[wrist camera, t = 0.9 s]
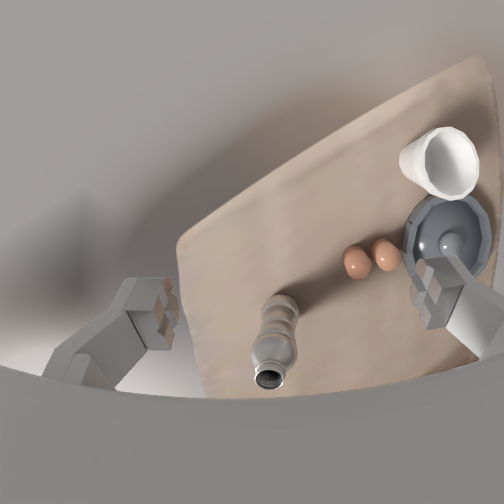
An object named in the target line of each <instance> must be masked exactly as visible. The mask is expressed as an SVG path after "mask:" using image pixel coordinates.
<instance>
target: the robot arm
mask: <svg viewBox="0 0 504 504" xmlns="http://www.w3.org/2000/svg"><path fill="white" fill-rule="evenodd" d="M415 271H416V273H417V275H416V276H415V277H414V278H413V279H412V282H411V286H410V296H411V300H412V303H413V305H414V307H416V308H417V309H419V310H420V313H419V317H420V320H421V322H422V324H423V326H424V328H425V330H430V329H436V328H441V327H446V329H447V330H449V331H450V332H451V333H452V334H453V335H454V336H455V337H457V338H458V339H459V340H460V341H461V342H462V343H463V344H464V345H466V346H467V347H468V348H469V349H470V350H471V351H472V352H473V353H474V354H475V355H477V356H478V357H479V358H480V359H479V361H477V362H474V363H471V364H467V365H464V366H461V367H457V368H454V369H450V370H447V371H443V372H439V373H435V374H431V375H427V376H423V377H419V378H415V379H410V380H405V381H401V382H396V383H391V384H385V385H380V386H374V387H368V388H362V389H356V390H349V391H341V392H333V393H325V394H315V395H305V396H292V397H276V398H246V399H216V398H187V397H186V398H185V397H171V396H158V395H147V394H137V393H129V392H120V391H117V390H116V389H115V386H116V385H117V384H118V383H119V382H120V381H121V380H122V379H123V378H124V376H125V375H126V374H127V373H128V372H129V371H130V370H131V369H132V368H133V367H134V365H135V364H136V363H137V362H138V361H139V360H140V359H141V358H142V357H143V356H144V354H145V353H146V352H147V350H171V347H172V343H173V339H174V332H173V328H174V327H175V326H176V325H177V324H178V320H179V305H178V301H177V298H176V296H174V295H173V294H172V293H171V291H172V288H173V286H172V283H171V281H170V279H169V278H168V277H147V278H146V277H145V278H127V279H125V280H124V281H123V283H122V285H121V287H120V289H119V291H118V293H117V295H116V297H115V299H114V301H113V302H112V304H111V306H110V308H109V311H104V312H103V313H101V314H100V315H99V316H97V317H96V318H94V319H93V320H92V321H90V322H89V323H88V324H87V325H85V326H84V327H83V328H81V329H80V330H79V331H77V332H76V333H75V334H73V335H72V336H71V337H69V338H68V339H67V340H66V341H64V342H63V343H62V344H61V345H59V346H58V347H57V348H55V350H54V352H53V354H52V356H51V358H50V360H49V362H48V364H47V366H46V368H45V370H44V372H43V374H42V376H36V375H33V374H29V373H25V372H22V371H18V370H15V369H11V368H8V367H5V366H1V365H0V504H504V296H503V295H501V294H499V293H498V292H496V291H495V290H493V289H491V288H489V287H488V286H486V285H484V284H483V283H478V282H477V281H476V280H475V278H474V277H473V275H472V274H471V273H470V271H469V270H468V269H467V268H466V266H465V265H464V264H463V262H462V261H461V260H460V258H459V257H458V256H456V255H448V256H443V257H435V258H425V259H419V260H418V261H417V263H416V267H415Z"/></svg>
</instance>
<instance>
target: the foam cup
mask: <svg viewBox="0 0 504 504" xmlns="http://www.w3.org/2000/svg"><path fill="white" fill-rule="evenodd" d="M399 165H400V168H401V170H402V173H403V174H404V175H405V176H406V177H407V178H408V179H410V180H411V181H413V182H415V183H416V184H418V185H420V186H421V187H423V188H424V189H426V190H427V191H428V192H429V193H430V194H432V195H435V196H437V197H440V198H442V199H446V200H449V201H452V200H458V199H463V198H464V197H465V196H466V195H468V194H469V193H470V192H471V191H472V190H473V189H474V186H475V184H476V182H477V179H478V177H479V158H478V155H477V152H476V149H475V146H474V144H473V143H472V142H471V141H470V139H469V138H468V137H467V136H466V135H465V133H463V132H461V131H459V130H457V129H455V128H453V127H442V128H435V129H431V130H429V131H428V132H427V133H425V134H424V135H423V136H422V137H420V138H418V139H417V140H415V141H413V142H412V143H410V144H408V145H407V146H406V147H404V148H403V149H402V152H401V154H400V156H399Z"/></svg>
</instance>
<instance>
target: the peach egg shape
mask: <svg viewBox="0 0 504 504" xmlns="http://www.w3.org/2000/svg"><path fill="white" fill-rule="evenodd" d="M342 259H343V263H344V265H345V268H346V270H347V273H348V274H349V276H350V277H352V278H354V279H362V278H365V277H366V276H367V275H368V274H369V273H370V271H371V267H372V265H371V261H370V259H369V258H368V256H367V255H366V253H365V252H364V250H363V249H362V248H361V247H359V246H350V247H348V248H347V249H346V250H345V251H344V252H343V256H342Z"/></svg>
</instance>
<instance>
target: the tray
mask: <svg viewBox="0 0 504 504" xmlns="http://www.w3.org/2000/svg"><path fill="white" fill-rule="evenodd" d="M491 245H492V233H491V227H490V221H489V216H488V214H487V213H486V212H485V210H484V209H483V208H482V206H481V205H480V204H479V203H478V201H477V200H476V199H475V198H474V197H473V196H469V195H466V196H465V197H464V198H463V199H458V200H452V201H449V200H446V199H442V198H440V197H437V196H435V195H432V194H431V195H429V196H427V197H426V198H424V199H423V200H422V201H421V202H420V203H419V204H418V205H417V206H416V207H415V208H414V209H413V211H412V213H411V214H410V216H409V218H408V220H407V222H406V225H405V227H404V231H403V236H402V255H403V260H404V263H405V266H406V268H407V271H408V274H409V275H410V277H411V278H412V279H413V278H414V277H415V276H416V275H417V273H416V271H415V267H416V263H417V261H418V260H419V259H425V258H435V257H443V256H448V255H456V256H458V257H459V258H460V260H461V261H462V262H463V264H464V265H465V266H466V268H467V269H468V270H469V271H470V273H471V274H472V275H473V277H474V278H475V280H476V279H477V278H478V276H479V275H480V274H481V272H482V271H483V270H484V268H485V267H486V266H485V265H487V261H488V257H489V253H490V249H491Z"/></svg>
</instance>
